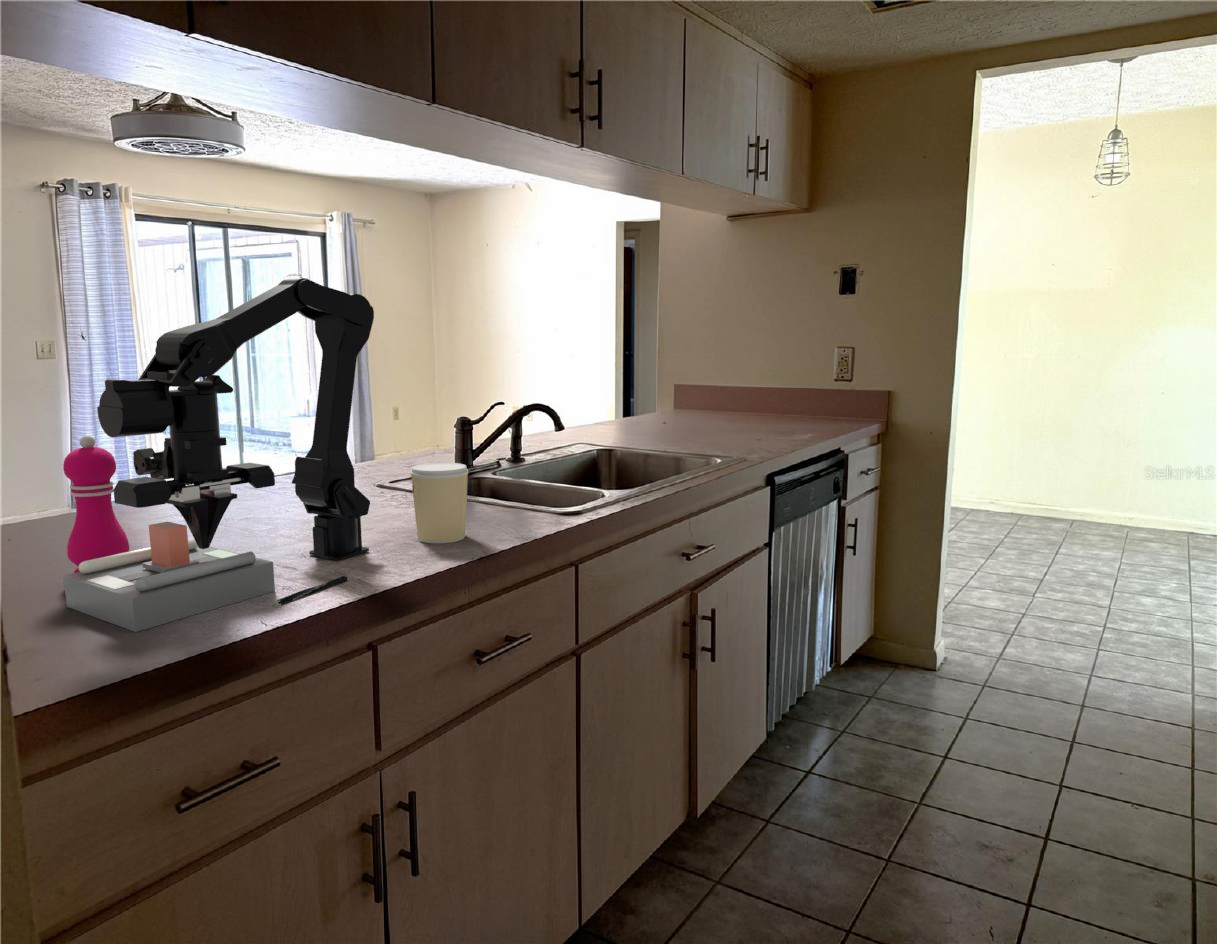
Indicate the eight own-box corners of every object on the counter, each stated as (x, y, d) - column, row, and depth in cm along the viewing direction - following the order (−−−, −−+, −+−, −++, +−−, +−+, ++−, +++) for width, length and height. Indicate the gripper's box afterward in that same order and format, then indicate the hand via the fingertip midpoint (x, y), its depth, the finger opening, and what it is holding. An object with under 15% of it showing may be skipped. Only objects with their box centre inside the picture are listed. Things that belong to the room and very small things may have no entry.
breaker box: (204, 571, 116) (201, 533, 115) (274, 590, 108) (272, 549, 107) (66, 606, 101) (61, 562, 100) (135, 632, 93) (130, 584, 92)
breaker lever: (176, 559, 107) (173, 519, 106) (199, 565, 104) (196, 524, 103) (142, 567, 103) (138, 526, 102) (165, 574, 101) (161, 531, 100)
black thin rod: (276, 609, 102) (276, 601, 101) (271, 608, 102) (270, 600, 102) (348, 583, 112) (347, 576, 112) (342, 582, 113) (342, 575, 113)
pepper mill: (142, 572, 116) (129, 432, 113) (113, 588, 109) (98, 438, 105) (90, 572, 116) (75, 432, 112) (58, 588, 109) (41, 439, 105)
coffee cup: (436, 528, 142) (434, 460, 140) (481, 534, 138) (479, 464, 136) (400, 540, 134) (398, 468, 132) (447, 547, 130) (444, 473, 128)
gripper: (225, 420, 117) (232, 526, 119) (85, 432, 101) (97, 554, 104) (273, 425, 111) (280, 537, 113) (133, 438, 95) (144, 568, 98)
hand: (203, 548), depth 107 cm, fingers closed
